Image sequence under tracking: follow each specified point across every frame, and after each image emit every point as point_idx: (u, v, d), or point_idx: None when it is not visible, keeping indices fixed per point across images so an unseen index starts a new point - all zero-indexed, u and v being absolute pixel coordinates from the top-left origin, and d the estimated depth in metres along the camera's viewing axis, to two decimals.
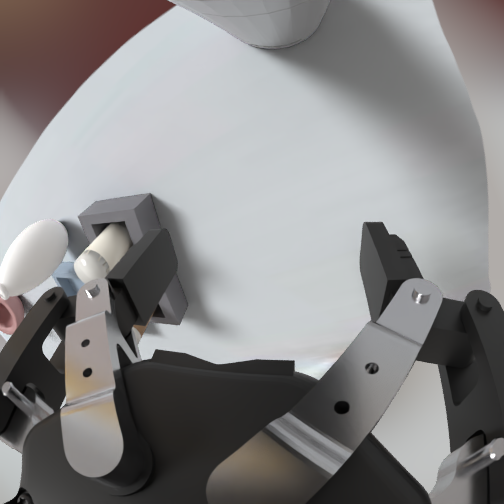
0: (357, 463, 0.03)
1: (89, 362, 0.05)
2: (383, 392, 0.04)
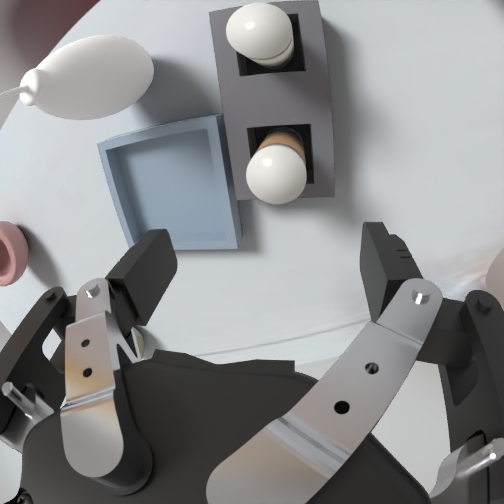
0: (357, 463, 0.03)
1: (89, 362, 0.05)
2: (383, 391, 0.04)
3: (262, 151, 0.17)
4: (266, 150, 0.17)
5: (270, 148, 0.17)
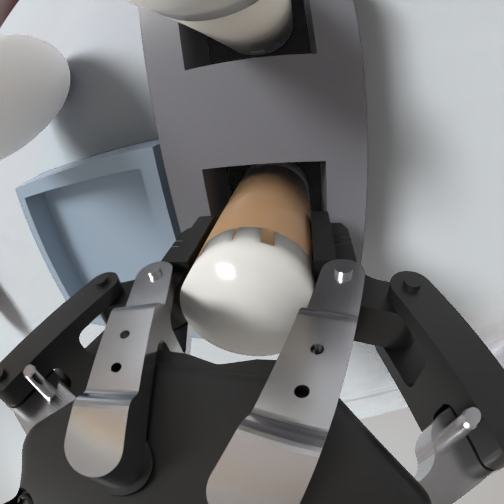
0: (357, 463, 0.03)
1: (121, 357, 0.05)
2: (335, 367, 0.04)
3: (209, 264, 0.07)
4: (218, 262, 0.07)
5: (228, 257, 0.07)
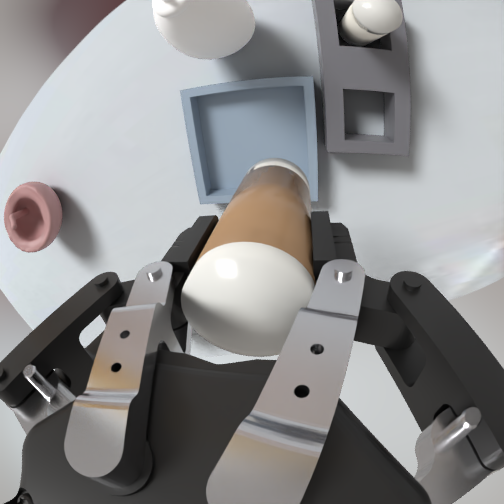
0: (357, 463, 0.03)
1: (121, 357, 0.05)
2: (335, 367, 0.04)
3: (210, 265, 0.07)
4: (219, 263, 0.07)
5: (229, 258, 0.07)
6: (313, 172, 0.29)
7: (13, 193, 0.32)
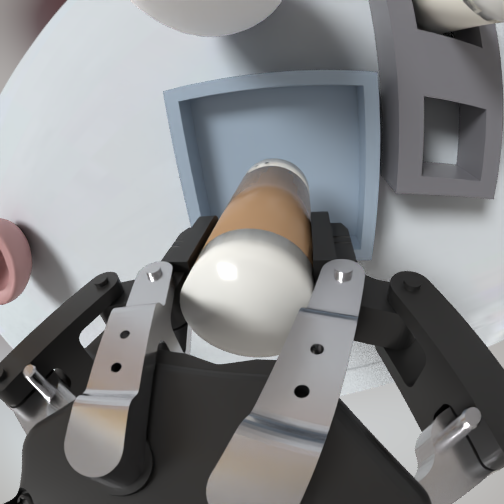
0: (357, 463, 0.03)
1: (121, 357, 0.05)
2: (335, 367, 0.04)
3: (209, 266, 0.07)
4: (218, 264, 0.07)
5: (228, 260, 0.07)
6: (370, 220, 0.19)
7: None
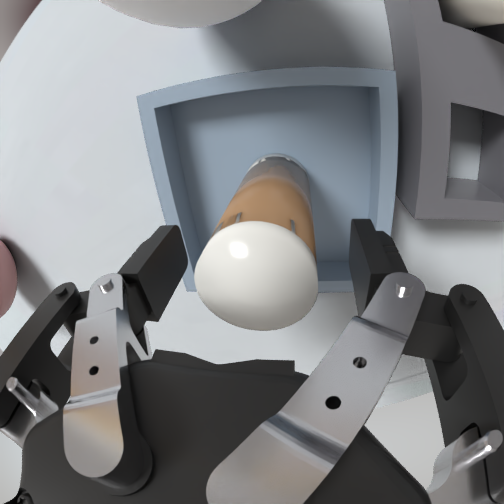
0: (357, 463, 0.03)
1: (96, 360, 0.05)
2: (373, 385, 0.04)
3: (223, 240, 0.08)
4: (231, 239, 0.08)
5: (240, 234, 0.08)
6: None
7: None
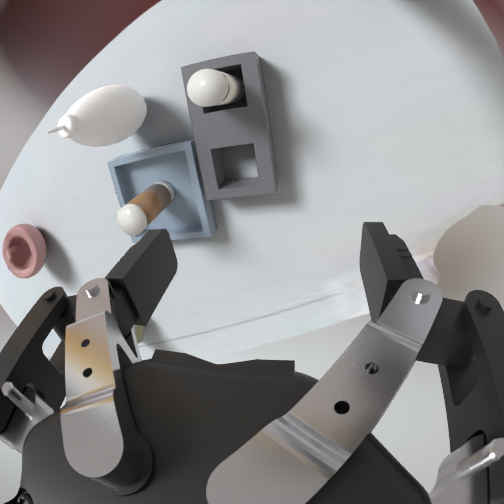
0: (357, 463, 0.03)
1: (89, 362, 0.05)
2: (382, 392, 0.04)
3: (121, 208, 0.31)
4: (122, 208, 0.31)
5: (124, 206, 0.31)
6: (203, 215, 0.39)
7: (8, 233, 0.42)
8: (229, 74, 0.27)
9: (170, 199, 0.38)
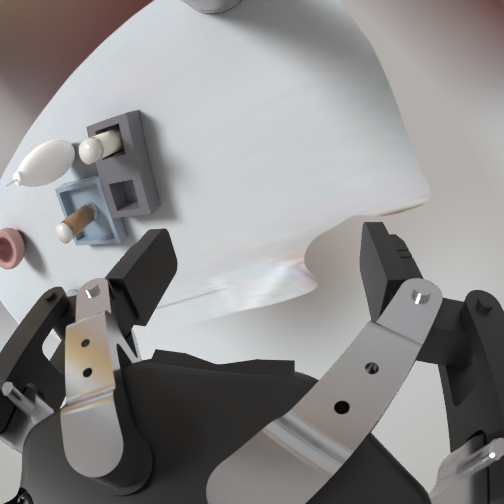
0: (357, 463, 0.03)
1: (89, 362, 0.05)
2: (383, 391, 0.04)
3: (57, 226, 0.42)
4: (57, 225, 0.42)
5: (58, 225, 0.42)
6: (113, 228, 0.50)
7: None
8: (113, 131, 0.38)
9: (93, 216, 0.50)
